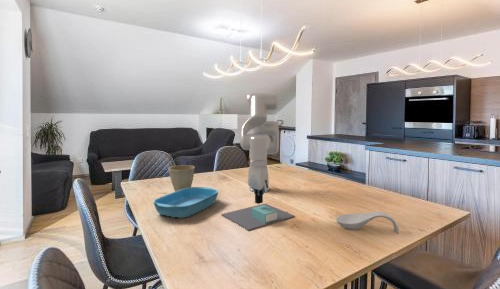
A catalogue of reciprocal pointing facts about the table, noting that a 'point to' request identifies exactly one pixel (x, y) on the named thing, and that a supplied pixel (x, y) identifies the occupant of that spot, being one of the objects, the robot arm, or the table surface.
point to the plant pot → (181, 176)
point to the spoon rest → (362, 220)
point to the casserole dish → (185, 201)
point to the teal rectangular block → (264, 214)
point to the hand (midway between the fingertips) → (258, 202)
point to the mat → (249, 222)
